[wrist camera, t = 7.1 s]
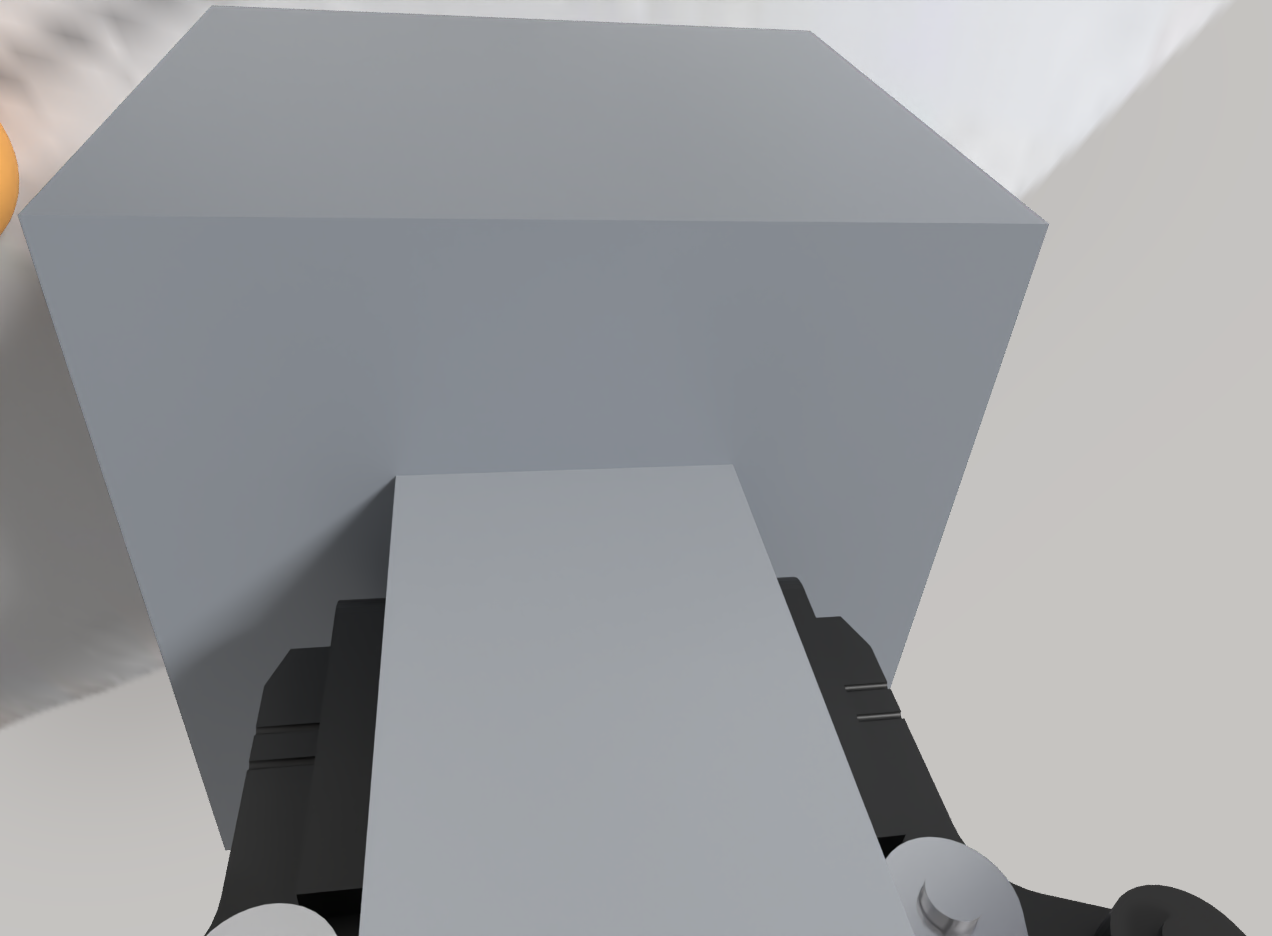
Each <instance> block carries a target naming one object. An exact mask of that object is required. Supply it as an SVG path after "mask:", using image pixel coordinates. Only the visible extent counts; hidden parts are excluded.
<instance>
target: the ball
mask: <svg viewBox="0 0 1272 936" xmlns="http://www.w3.org/2000/svg"><path fill="white" fill-rule="evenodd" d="M18 193H19V173H18V164H17V160H16V156H15V152H14V150H13V147H12V145H11V142H10V140H9V138H8V136H7V134H6V132H5V130H4V128H3V126H2V125H1V123H0V235H1V234H2V232H3V231H4V229H5V228H6V226H7V225H8V223H9V222H10V219H11V217H12V215H13V212H14V210H15V206H16V202H17V198H18Z"/></svg>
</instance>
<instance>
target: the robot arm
mask: <svg viewBox="0 0 1272 936" xmlns="http://www.w3.org/2000/svg"><path fill="white" fill-rule="evenodd" d="M777 580H778V583H779V585H780V588H781V590H782V593H783V596H784V598H785V601H786V603H787V606H788V609H789V611H790V614H791V616H792V619H793V622H794V624H795V627H796V629H797V632H798V634H799V637H800V640H801V642H802V645H803V647H804V650H805V653H806V655H807V658H808V660H809V663H810V666H811V668H812V671H813V673H814V676H815V679H816V681H817V684H818V686H819V689H820V692H821V694H822V697H823V699H824V702H825V704H826V707H827V710H828V712H829V715H830V717H831V720H832V723H833V725H834V728H835V730H836V733H837V736H838V738H839V741H840V743H841V746H842V749H843V751H844V754H845V756H846V759H847V762H848V764H849V767H850V769H851V772H852V774H853V777H854V780H855V782H856V785H857V787H858V790H859V793H860V795H861V798H862V800H863V803H864V806H865V808H866V811H867V813H868V816H869V819H870V821H871V824H872V826H873V829H874V832H875V834H876V837H877V839H878V842H879V844H880V847H881V850H882V852H883V855H884V857H885V860H886V863H887V865H888V868H889V870H890V873H891V876H892V878H893V881H894V883H895V886H896V889H897V891H898V894H899V896H900V899H901V902H902V904H903V907H904V909H905V912H906V914H907V917H908V920H909V922H910V925H911V927H912V930H913V933H914V935H915V936H1246V935H1245V934H1244V933H1243V932H1242V931H1241V930H1240V929H1239V928H1238V927H1237V926H1236V925H1235V924H1234V923H1233V922H1232V921H1230V920H1229V919H1228V918H1227V917H1226V916H1225V915H1224V914H1222V913H1221V912H1220V911H1218V910H1217V909H1216V908H1215V907H1213V906H1212V905H1210V904H1209V903H1207V902H1205V901H1204V900H1202V899H1200V898H1198V897H1196V896H1194V895H1192V894H1190V893H1187V892H1185V891H1182V890H1179V889H1176V888H1173V887H1168V886H1162V885H1145V886H1140V887H1136V888H1134V889H1131V890H1129V891H1127V892H1126V893H1125V894H1123V895H1122V896H1121V897H1120V898H1119V899H1118V901H1117V902H1116V904H1115V905H1114V907H1113V908H1112V909H1108V908H1104V907H1100V906H1095V905H1091V904H1086V903H1081V902H1077V901H1072V900H1068V899H1063V898H1059V897H1054V896H1050V895H1045V894H1040V893H1037V892H1033V891H1030V890H1027V889H1025V888H1022V887H1020V886H1017V885H1015V884H1013V883H1011V882H1009V881H1008V880H1007V878H1006V877H1005V876H1004V875H1003V873H1002V872H1001V871H1000V870H999V869H998V868H997V867H996V866H995V865H994V864H993V863H992V862H991V861H989V860H988V859H987V858H986V857H985V856H983V855H982V854H980V853H978V852H977V851H976V850H974V849H972V848H970V847H968V846H966V845H965V843H964V842H963V841H962V839H961V838H960V836H959V835H958V833H957V831H956V829H955V827H954V825H953V824H952V821H951V819H950V817H949V815H948V812H947V810H946V808H945V806H944V804H943V802H942V799H941V797H940V795H939V793H938V791H937V789H936V787H935V784H934V782H933V780H932V778H931V776H930V773H929V771H928V769H927V767H926V765H925V763H924V760H923V759H922V756H921V754H920V752H919V749H918V747H917V745H916V743H915V741H914V739H913V737H912V734H911V732H910V730H909V728H908V726H907V723H906V721H905V719H902V718H901V714H900V712H901V710H900V708H899V706H898V704H897V702H896V700H895V698H894V695H893V693H892V691H891V689H888V687H887V680H886V678H885V676H884V674H883V671H882V669H881V667H880V665H879V663H878V661H877V658H876V656H875V654H874V652H873V650H872V648H871V646H870V645H869V644H868V643H867V642H866V641H865V640H864V639H863V638H862V637H861V636H860V635H859V634H858V633H857V632H856V631H855V630H854V629H853V628H852V627H851V626H850V625H849V624H848V623H847V622H846V621H845V620H844V619H843V618H842V617H841V616H836V617H819V618H816V616H815V614H814V611H813V609H812V607H811V604H810V602H809V599H808V597H807V594H806V592H805V590H804V587H803V585H802V583H801V582H800V580H799V579H798V578H796V577H779V578H777ZM385 605H386V598H370V599H352V600H339V601H338V602H337V605H336V610H335V617H334V624H333V631H332V638H331V646H329V647H313V648H296V649H290V650H289V652H288V653H287V655H286V656H285V657H284V659H283V660H282V662H281V663H280V664H279V666H278V667H277V669H276V670H275V671H274V673H273V674H272V675H271V677H270V678H269V680H268V681H267V682H266V684H265V685H264V689H263V694H262V699H261V703H260V708H259V713H258V718H257V723H256V735H254V738H253V743H252V748H251V753H250V758H249V770H247V773H246V778H245V782H244V787H243V792H242V797H241V802H240V807H239V812H238V817H237V822H236V827H235V832H234V837H233V842H232V847H231V852H230V857H229V862H228V866H227V871H226V877H225V881H224V886H223V891H222V896H221V900H220V903H219V907H218V910H217V913H216V915H215V917H214V920H213V922H212V924H211V926H210V928H209V929H208V931H207V932H206V934H205V936H359V928H360V915H361V903H362V891H363V878H364V866H365V853H366V841H367V828H368V816H369V804H370V791H371V779H372V766H373V754H374V741H375V729H376V717H377V704H378V692H379V679H380V667H381V654H382V642H383V630H384V617H385Z"/></svg>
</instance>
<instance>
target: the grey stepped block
mask: <svg viewBox="0 0 1272 936" xmlns="http://www.w3.org/2000/svg"><path fill="white" fill-rule="evenodd" d="M18 217H19V220H20V223H21V227H22V230H23V233H24V236H25V239H26V242H27V245H28V248H29V251H30V254H31V257H32V260H33V263H34V266H35V269H36V272H37V275H38V278H39V282H40V285H41V288H42V291H43V294H44V297H45V300H46V303H47V306H48V309H49V312H50V315H51V318H52V321H53V324H54V327H55V330H56V334H57V337H58V340H59V343H60V346H61V349H62V352H63V355H64V358H65V361H66V364H67V367H68V370H69V373H70V376H71V379H72V382H73V386H74V389H75V392H76V395H77V398H78V401H79V404H80V407H81V410H82V413H83V416H84V419H85V422H86V425H87V428H88V431H89V434H90V437H91V441H92V444H93V447H94V450H95V453H96V456H97V459H98V462H99V465H100V468H101V471H102V474H103V477H104V480H105V483H106V486H107V489H108V493H109V496H110V499H111V502H112V505H113V508H114V511H115V514H116V517H117V520H118V523H119V526H120V529H121V532H122V535H123V538H124V541H125V545H126V548H127V551H128V554H129V557H130V560H131V563H132V566H133V569H134V572H135V575H136V578H137V581H138V584H139V587H140V590H141V593H142V596H143V600H144V603H145V606H146V609H147V612H148V615H149V618H150V621H151V624H152V627H153V630H154V633H155V636H156V639H157V642H158V645H159V648H160V652H161V655H162V658H163V661H164V664H165V667H166V670H167V673H168V676H169V679H170V682H171V685H172V688H173V691H174V694H175V697H176V700H177V704H178V706H179V709H180V713H181V716H182V719H183V722H184V725H185V728H186V731H187V734H188V737H189V740H190V743H191V746H192V749H193V752H194V755H195V758H196V762H197V764H198V768H199V771H200V774H201V777H202V780H203V783H204V786H205V789H206V792H207V795H208V798H209V801H210V804H211V807H212V811H213V814H214V816H215V820H216V823H217V826H218V829H219V832H220V835H221V838H222V841H223V844H224V847H225V850H231V847H232V842H233V837H234V832H235V827H236V822H237V817H238V812H239V807H240V802H241V797H242V792H243V787H244V782H245V778H246V773H247V770H249V758H250V753H251V748H252V743H253V738H254V735H256V723H257V718H258V713H259V708H260V703H261V699H262V694H263V689H264V685H265V684H266V682H267V681H268V680H269V678H270V677H271V675H272V674H273V673H274V671H275V670H276V669H277V667H278V666H279V664H280V663H281V662H282V660H283V659H284V657H285V656H286V655H287V653H288V652H289V650H290V649H296V648H313V647H329V646H331V638H332V631H333V624H334V617H335V610H336V605H337V602H338V601H339V600H352V599H370V598H386V605H385V617H384V630H383V642H382V654H381V667H380V679H379V692H378V704H377V717H376V729H375V741H374V754H373V766H372V779H371V791H370V804H369V816H368V828H367V841H366V853H365V866H364V878H363V891H362V903H361V915H360V928H359V936H915V935H914V933H913V930H912V927H911V925H910V922H909V920H908V917H907V914H906V912H905V909H904V907H903V904H902V902H901V899H900V896H899V894H898V891H897V889H896V886H895V883H894V881H893V878H892V876H891V873H890V870H889V868H888V865H887V863H886V860H885V857H884V855H883V852H882V850H881V847H880V844H879V842H878V839H877V837H876V834H875V832H874V829H873V826H872V824H871V821H870V819H869V816H868V813H867V811H866V808H865V806H864V803H863V800H862V798H861V795H860V793H859V790H858V787H857V785H856V782H855V780H854V777H853V774H852V772H851V769H850V767H849V764H848V762H847V759H846V756H845V754H844V751H843V749H842V746H841V743H840V741H839V738H838V736H837V733H836V730H835V728H834V725H833V723H832V720H831V717H830V715H829V712H828V710H827V707H826V704H825V702H824V699H823V697H822V694H821V692H820V689H819V686H818V684H817V681H816V679H815V676H814V673H813V671H812V668H811V666H810V663H809V660H808V658H807V655H806V653H805V650H804V647H803V645H802V642H801V640H800V637H799V634H798V632H797V629H796V627H795V624H794V622H793V619H792V616H791V614H790V611H789V609H788V606H787V603H786V601H785V598H784V596H783V593H782V590H781V588H780V585H779V583H778V580H777V578H779V577H796V578H798V579H799V580H800V582H801V583H802V585H803V587H804V590H805V592H806V594H807V597H808V599H809V602H810V604H811V607H812V609H813V611H814V614H815V616H816V618H819V617H836V616H841V617H842V618H843V619H844V620H845V621H846V622H847V623H848V624H849V625H850V626H851V627H852V628H853V629H854V630H855V631H856V632H857V633H858V634H859V635H860V636H861V637H862V638H863V639H864V640H865V641H866V642H867V643H868V644H869V645H870V646H871V648H872V650H873V652H874V654H875V656H876V658H877V661H878V663H879V665H880V667H881V669H882V671H883V674H884V676H885V678H886V680H887V687H888V689H890V687H891V684H892V681H893V678H894V675H895V672H896V669H897V666H898V663H899V661H900V658H901V655H902V652H903V649H904V646H905V643H906V640H907V637H908V634H909V631H910V629H911V626H912V623H913V620H914V617H915V614H916V611H917V608H918V605H919V602H920V599H921V596H922V593H923V590H924V588H925V585H926V581H927V579H928V576H929V573H930V570H931V567H932V564H933V561H934V558H935V556H936V552H937V550H938V547H939V544H940V541H941V538H942V535H943V532H944V529H945V526H946V523H947V520H948V518H949V515H950V512H951V509H952V506H953V503H954V500H955V497H956V494H957V491H958V488H959V485H960V483H961V480H962V477H963V474H964V471H965V468H966V465H967V462H968V459H969V456H970V453H971V450H972V447H973V445H974V441H975V439H976V436H977V433H978V430H979V427H980V424H981V421H982V418H983V415H984V412H985V410H986V406H987V404H988V401H989V398H990V395H991V392H992V389H993V386H994V383H995V380H996V377H997V374H998V372H999V369H1000V366H1001V363H1002V360H1003V357H1004V354H1005V351H1006V348H1007V345H1008V342H1009V339H1010V337H1011V334H1012V331H1013V328H1014V325H1015V322H1016V319H1017V316H1018V313H1019V310H1020V307H1021V304H1022V301H1023V299H1024V296H1025V293H1026V289H1027V287H1028V284H1029V281H1030V278H1031V275H1032V272H1033V269H1034V266H1035V263H1036V260H1037V258H1038V255H1039V252H1040V249H1041V246H1042V243H1043V240H1044V237H1045V234H1046V231H1047V228H1048V225H1049V224H1048V223H1047V222H1046V221H1045V220H1044V219H1042V218H1041V217H1040V216H1039V215H1037V214H1036V213H1035V212H1034V211H1032V210H1031V209H1030V208H1029V207H1027V206H1026V205H1025V204H1024V203H1023V202H1021V201H1020V200H1019V199H1018V198H1016V197H1015V196H1014V195H1013V194H1011V193H1010V192H1009V191H1008V190H1006V189H1005V188H1004V187H1003V186H1002V185H1000V184H999V183H998V182H997V181H995V180H994V179H993V178H992V177H990V176H989V175H988V174H987V173H985V172H984V171H983V170H982V169H980V168H979V167H978V166H977V165H976V164H974V163H973V162H972V161H971V160H969V159H968V158H967V157H966V156H964V155H963V154H962V153H961V152H959V151H958V150H957V149H956V148H955V147H953V146H952V145H951V144H950V143H948V142H947V141H946V140H945V139H943V138H942V137H941V136H940V135H938V134H937V133H936V132H935V131H933V130H932V129H931V128H930V127H929V126H927V125H926V124H925V123H924V122H922V121H921V120H920V119H919V118H917V117H916V116H915V115H914V114H912V113H911V112H910V111H909V110H908V109H906V108H905V107H904V106H903V105H901V104H900V103H899V102H898V101H896V100H895V99H894V98H893V97H891V96H890V95H889V94H888V93H886V92H885V91H884V90H883V89H882V88H880V87H879V86H878V85H877V84H875V83H874V82H873V81H872V80H870V79H869V78H868V77H867V76H865V75H864V74H863V73H862V72H861V71H859V70H858V69H857V68H856V67H854V66H853V65H852V64H851V63H849V62H848V61H847V60H846V59H844V58H843V57H842V56H841V55H840V54H838V53H837V52H836V51H835V50H833V49H832V48H831V47H830V46H828V45H827V44H826V43H825V42H823V41H822V40H821V39H820V38H818V37H817V36H816V35H815V34H814V33H812V32H811V31H803V30H779V29H756V28H732V27H708V26H685V25H661V24H637V23H614V22H590V21H566V20H543V19H519V18H495V17H472V16H448V15H424V14H401V13H377V12H353V11H330V10H306V9H282V8H259V7H235V6H211V7H210V8H209V9H208V10H207V11H206V13H205V14H204V15H203V16H202V17H201V18H200V19H199V20H198V21H197V22H196V23H195V24H194V25H193V27H192V28H191V29H190V30H189V31H188V32H187V33H186V34H185V35H184V36H183V37H182V38H181V39H180V41H179V42H178V43H177V44H176V45H175V46H174V47H173V48H172V49H171V50H170V51H169V52H168V54H167V55H166V56H165V57H164V58H163V59H162V60H161V61H160V62H159V63H158V64H157V65H156V66H155V68H154V69H153V70H152V71H151V72H150V73H149V74H148V75H147V76H146V77H145V78H144V79H143V81H142V82H141V83H140V84H139V85H138V86H137V87H136V88H135V89H134V90H133V91H132V92H131V93H130V95H129V96H128V97H127V98H126V99H125V100H124V101H123V102H122V103H121V104H120V105H119V106H118V107H117V109H116V110H115V111H114V112H113V113H112V114H111V115H110V116H109V117H108V118H107V119H106V120H105V122H104V123H103V124H102V125H101V126H100V127H99V128H98V129H97V130H96V131H95V132H94V133H93V134H92V136H91V137H90V138H89V139H88V140H87V141H86V142H85V143H84V144H83V145H82V146H81V147H80V149H79V150H78V151H77V152H76V153H75V154H74V155H73V156H72V157H71V158H70V159H69V160H68V161H67V163H66V164H65V165H64V166H63V167H62V168H61V169H60V170H59V171H58V172H57V173H56V174H55V175H54V177H53V178H52V179H51V180H50V181H49V182H48V183H47V184H46V185H45V186H44V187H43V188H42V190H41V191H40V192H39V193H38V194H37V195H36V196H35V197H34V198H33V199H32V200H31V201H30V202H29V204H28V205H27V206H26V207H25V208H24V209H23V210H22V211H21V212H20V213H19V214H18Z"/></svg>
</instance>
